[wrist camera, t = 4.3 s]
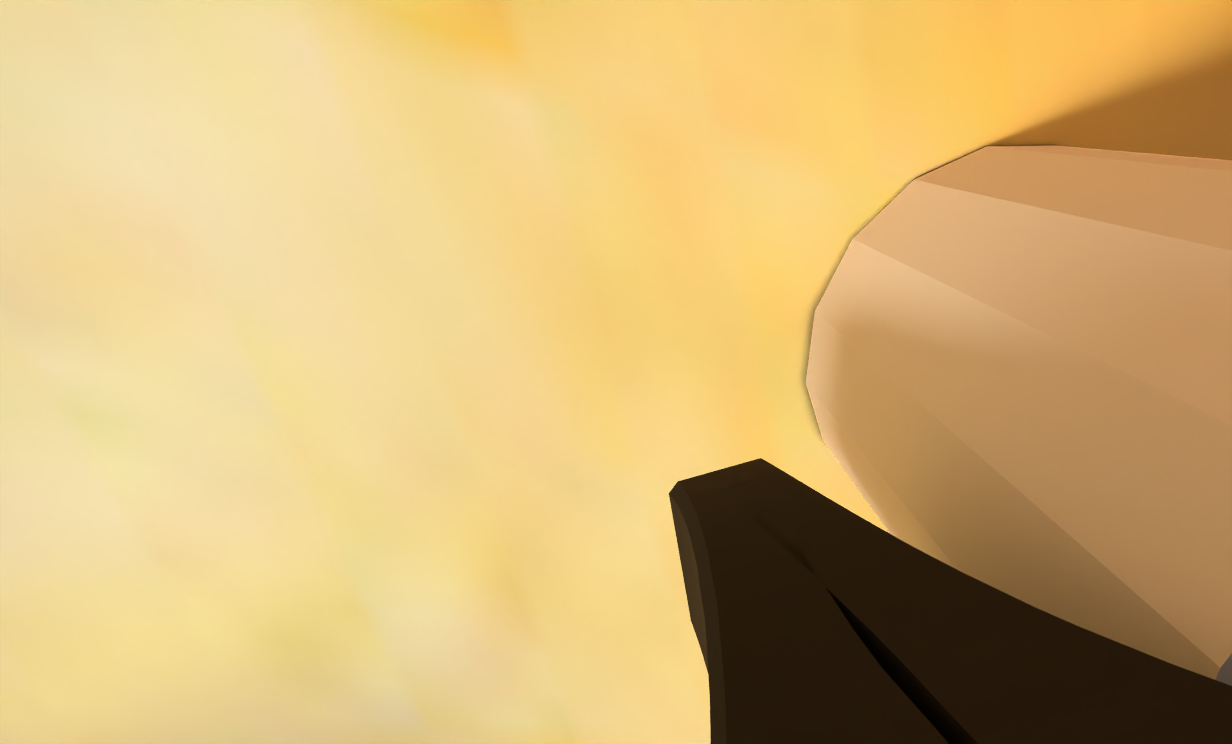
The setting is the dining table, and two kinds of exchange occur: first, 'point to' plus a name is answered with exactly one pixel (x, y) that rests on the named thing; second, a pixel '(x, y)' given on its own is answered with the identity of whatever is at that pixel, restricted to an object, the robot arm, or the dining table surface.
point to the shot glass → (1049, 385)
